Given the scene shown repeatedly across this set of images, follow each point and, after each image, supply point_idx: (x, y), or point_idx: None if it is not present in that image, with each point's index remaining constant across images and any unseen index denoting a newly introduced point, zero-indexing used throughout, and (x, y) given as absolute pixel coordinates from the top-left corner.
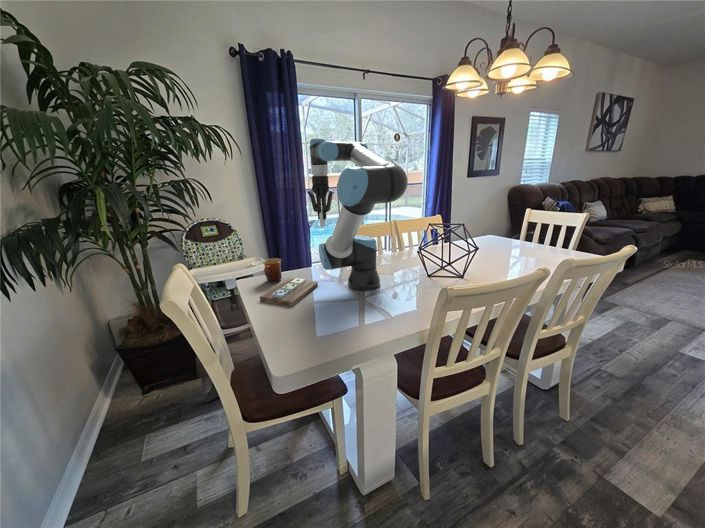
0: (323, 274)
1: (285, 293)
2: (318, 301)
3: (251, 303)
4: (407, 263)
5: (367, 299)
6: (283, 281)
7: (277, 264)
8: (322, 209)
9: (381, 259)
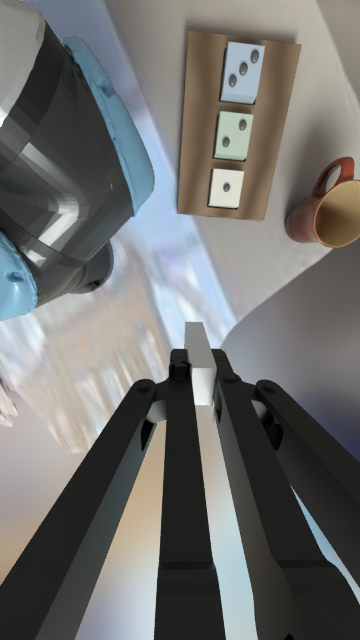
0: (192, 291)
1: (225, 66)
2: (134, 108)
3: (312, 26)
4: (43, 392)
5: None
6: (269, 191)
7: (316, 203)
8: (188, 393)
9: (103, 402)
